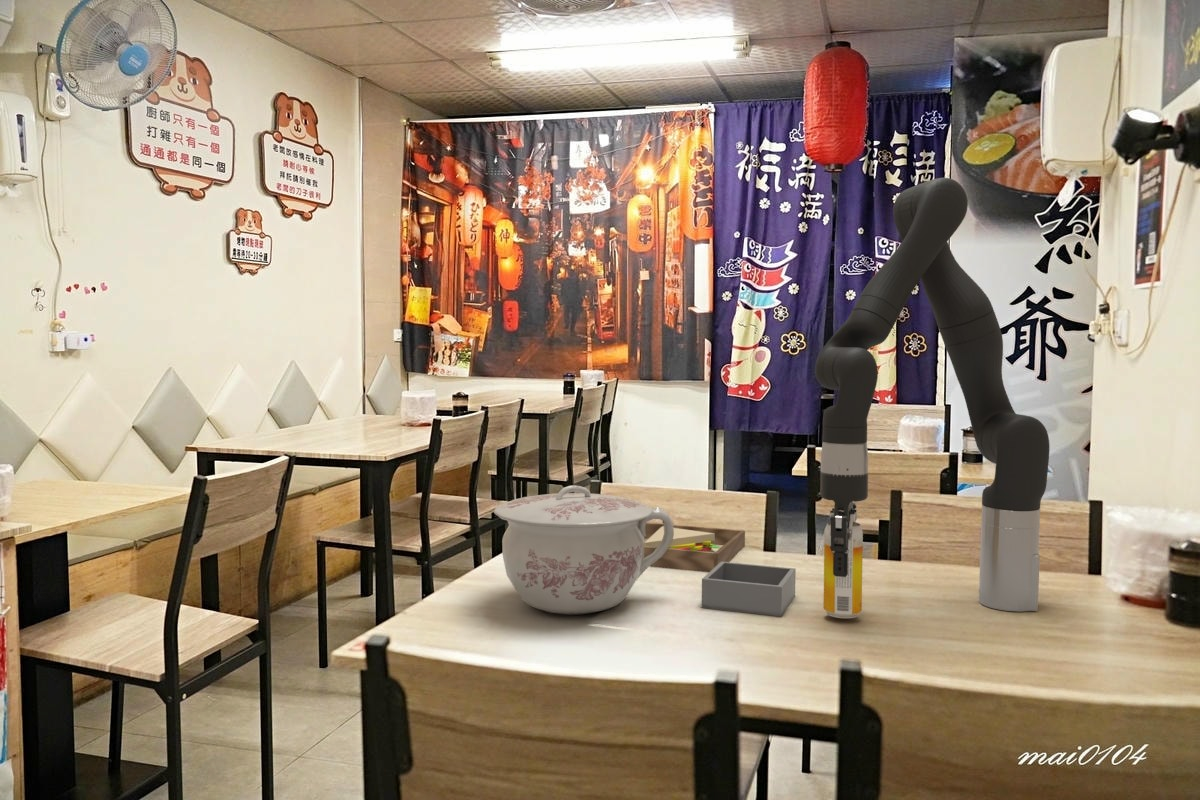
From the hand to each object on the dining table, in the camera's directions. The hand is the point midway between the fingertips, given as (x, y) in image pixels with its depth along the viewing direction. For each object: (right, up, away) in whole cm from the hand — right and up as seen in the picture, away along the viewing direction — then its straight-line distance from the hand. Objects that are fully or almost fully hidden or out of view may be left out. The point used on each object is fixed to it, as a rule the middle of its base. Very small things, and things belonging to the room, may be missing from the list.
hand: (842, 570), depth 152 cm
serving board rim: (-24, -5, +45) cm, 51 cm away
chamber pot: (-44, -7, +8) cm, 46 cm away
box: (-14, -7, +10) cm, 19 cm away
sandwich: (-26, -6, +45) cm, 52 cm away
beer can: (0, -7, 0) cm, 7 cm away
